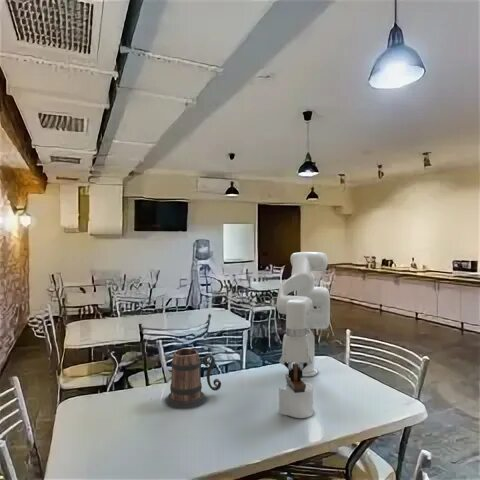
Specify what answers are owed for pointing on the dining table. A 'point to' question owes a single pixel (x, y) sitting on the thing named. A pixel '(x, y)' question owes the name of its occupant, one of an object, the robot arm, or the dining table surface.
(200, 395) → the tankard
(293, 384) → the brush
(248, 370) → the dining table surface
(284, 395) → the toilet tissue
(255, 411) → the dining table surface
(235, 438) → the dining table surface
